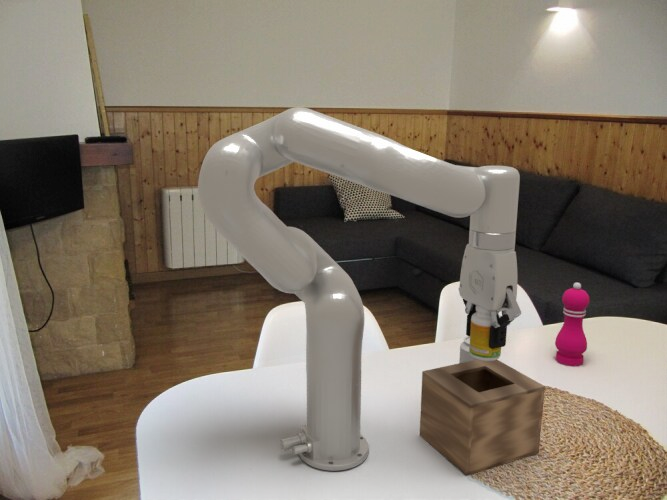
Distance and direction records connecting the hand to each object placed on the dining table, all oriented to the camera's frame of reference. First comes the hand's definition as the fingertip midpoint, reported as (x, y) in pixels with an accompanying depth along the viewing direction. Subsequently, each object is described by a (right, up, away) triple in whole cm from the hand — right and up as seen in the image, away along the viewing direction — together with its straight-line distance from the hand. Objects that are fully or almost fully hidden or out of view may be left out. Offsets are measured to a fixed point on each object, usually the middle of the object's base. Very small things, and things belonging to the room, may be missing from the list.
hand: (485, 339), depth 103 cm
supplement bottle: (0, -3, +1) cm, 3 cm away
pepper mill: (+31, -12, +41) cm, 52 cm away
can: (+4, -15, +25) cm, 30 cm away
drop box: (0, -20, +5) cm, 20 cm away
